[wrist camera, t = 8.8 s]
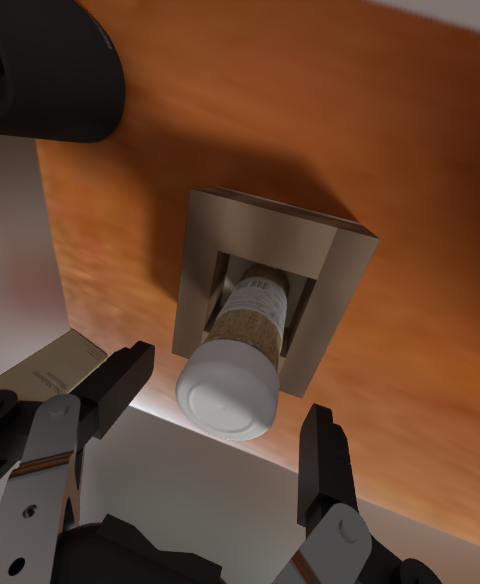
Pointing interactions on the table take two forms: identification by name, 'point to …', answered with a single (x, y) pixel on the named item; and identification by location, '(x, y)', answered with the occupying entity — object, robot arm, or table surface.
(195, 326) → the socket block
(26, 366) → the skincare box
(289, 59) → the table surface
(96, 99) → the pen holder
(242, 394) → the sprinkles bottle
